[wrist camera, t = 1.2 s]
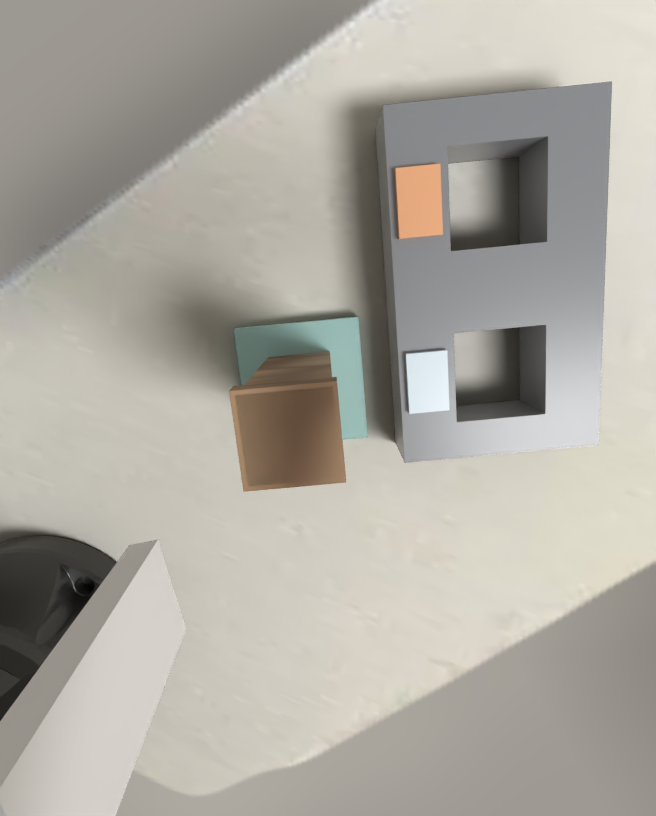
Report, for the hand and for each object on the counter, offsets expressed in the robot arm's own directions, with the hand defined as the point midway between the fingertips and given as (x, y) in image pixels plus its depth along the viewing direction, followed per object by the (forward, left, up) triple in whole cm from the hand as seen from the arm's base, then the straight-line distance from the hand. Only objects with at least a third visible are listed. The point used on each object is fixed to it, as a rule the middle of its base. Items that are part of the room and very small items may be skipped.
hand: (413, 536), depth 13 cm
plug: (-4, +1, -20) cm, 20 cm away
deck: (-4, +1, -21) cm, 21 cm away
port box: (+8, +6, -21) cm, 23 cm away
